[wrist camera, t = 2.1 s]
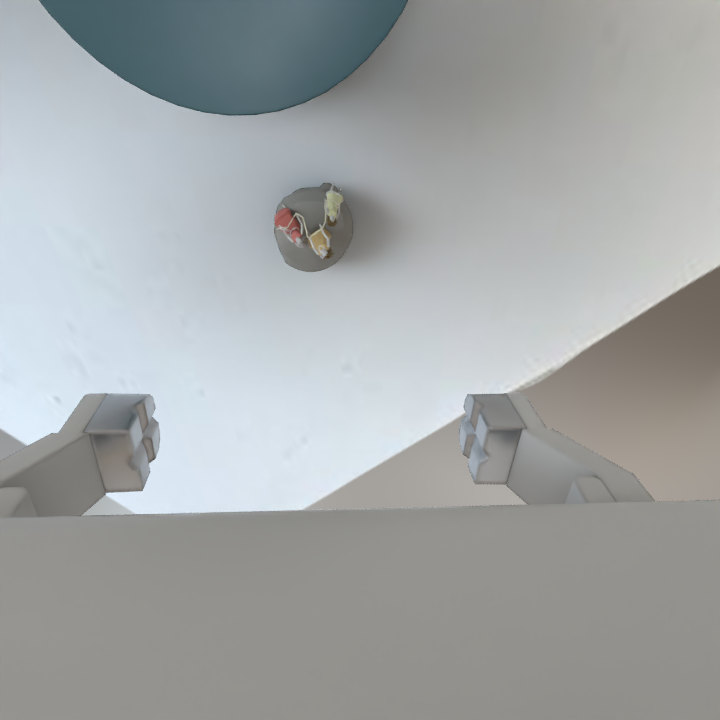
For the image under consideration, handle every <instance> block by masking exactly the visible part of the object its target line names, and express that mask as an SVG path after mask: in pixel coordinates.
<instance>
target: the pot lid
mask: <svg viewBox="0 0 720 720" xmlns="http://www.w3.org/2000/svg"><path fill="white" fill-rule="evenodd" d="M39 1H40V2H41V4H42V5H43V6H44V8H45V9H46V10H47V11H48V13H49V14H50V15H51V16H52V17H53V18H54V19H55V20H56V21H57V22H58V24H59V25H60V26H61V27H62V28H63V29H64V30H65V31H66V32H67V33H68V34H69V35H70V36H71V37H72V39H73V40H75V41H76V42H77V43H78V44H79V45H80V46H81V47H83V48H84V49H85V50H86V51H87V52H88V53H89V54H90V55H92V56H93V57H94V58H95V59H96V60H97V61H98V62H100V63H101V64H103V65H104V66H105V67H107V68H108V69H110V70H111V71H112V72H114V73H115V74H117V75H118V76H120V77H121V78H122V79H124V80H125V81H127V82H129V83H131V84H133V85H134V86H136V87H138V88H140V89H142V90H143V91H145V92H147V93H149V94H151V95H153V96H155V97H158V98H160V99H163V100H165V101H168V102H170V103H173V104H175V105H178V106H182V107H185V108H189V109H193V110H197V111H201V112H205V113H213V114H221V115H258V114H264V113H270V112H276V111H281V110H284V109H287V108H290V107H293V106H296V105H299V104H303V103H305V102H307V101H309V100H311V99H313V98H315V97H317V96H319V95H321V94H323V93H325V92H327V91H328V90H330V89H331V88H333V87H334V86H336V85H337V84H338V83H340V82H341V81H343V80H344V79H346V78H347V77H348V76H350V75H351V74H352V73H353V72H354V71H355V70H356V69H357V68H358V67H359V66H360V65H362V64H363V63H364V62H365V61H366V60H367V59H368V58H369V57H370V56H371V54H372V53H373V52H374V51H375V50H376V48H377V47H378V46H379V45H380V44H381V42H382V41H383V40H384V39H385V38H386V37H387V35H388V33H389V32H390V30H391V29H392V27H393V26H394V24H395V23H396V21H397V20H398V18H399V16H400V15H401V13H402V12H403V10H404V8H405V6H406V4H407V2H408V0H39Z"/></svg>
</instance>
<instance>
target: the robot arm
mask: <svg viewBox="0 0 720 720" xmlns="http://www.w3.org/2000/svg"><path fill="white" fill-rule="evenodd" d="M464 409H465V412H466V414H467V415H466V416H465V417H464V418H463V419H462V420H461V422H460V428H459V442H460V447H461V450H462V452H463V455H465V456H466V457H467V458H469V463H468V468H469V471H470V473H471V476H472V478H473V480H474V483H475V484H507V487H508V488H510V489H511V490H512V491H513V492H514V493H515V494H516V495H517V496H519V497H520V498H521V499H522V500H523V501H524V502H526V503H527V504H528V505H492V506H453V507H413V508H377V509H376V508H373V509H336V510H334V509H333V510H292V511H252V512H212V513H172V514H132V515H94V516H93V515H92V516H81V515H82V514H84V512H86V511H87V510H88V509H89V508H91V507H92V506H93V505H94V504H95V503H96V502H97V501H99V500H100V499H101V498H102V497H103V496H105V495H106V493H109V492H130V491H143V488H144V486H145V483H146V481H147V478H148V476H149V473H150V468H149V463H150V462H152V461H153V460H154V459H155V458H156V456H157V453H158V450H159V443H160V430H159V424H158V422H157V421H156V420H155V419H154V418H153V417H152V415H153V413H154V411H155V404H154V399H153V397H152V396H151V395H150V394H107V393H99V394H87V395H85V396H84V397H83V398H82V399H81V401H80V402H79V404H78V405H77V407H76V408H75V410H74V411H73V412H72V414H71V415H70V417H69V418H68V420H67V421H66V422H65V424H64V425H63V427H62V428H61V430H60V431H59V432H58V433H51V434H49V435H47V436H45V437H44V438H42V439H40V440H38V441H36V442H34V443H32V444H30V445H28V446H26V447H25V448H23V449H21V450H19V451H17V452H15V453H13V454H12V455H9V456H8V457H6V458H4V459H2V460H0V720H720V500H696V501H655V500H654V499H653V498H652V496H651V495H650V494H649V493H648V491H647V490H646V489H645V488H644V486H643V485H642V484H641V483H640V481H639V480H638V479H637V477H636V476H635V475H634V474H633V473H631V472H629V471H627V470H626V469H624V468H622V467H620V466H618V465H616V464H615V463H613V462H611V461H610V460H608V459H606V458H604V457H602V456H601V455H598V454H597V453H595V452H594V451H592V450H590V449H588V448H586V447H585V446H583V445H581V444H579V443H577V442H575V441H574V440H572V439H570V438H568V437H567V436H565V435H563V434H561V433H559V432H558V431H556V430H554V429H547V427H546V426H545V424H544V423H543V421H542V420H541V418H540V417H539V415H538V413H537V412H536V411H535V409H534V408H533V406H532V405H531V403H530V401H529V400H528V399H527V397H526V395H525V394H523V393H504V394H467V396H466V399H465V402H464Z"/></svg>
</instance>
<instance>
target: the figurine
mask: <svg viewBox="0 0 720 720" xmlns="http://www.w3.org/2000/svg"><path fill="white" fill-rule="evenodd" d="M341 189H342V188H340V190H339V191H338V189H337V188H336V187H335V186H334V184H330V183H323V185H322V186H321V187H314V188H301V189H298V190H296V191H295V192H293V193H292V194H291V195H289V196H287V197H285V198H284V199H283V200H282V201H281V202H280V204H279V205H278V207H277V211H276V215H274V216H275V229H274V233H275V237H276V241H277V244H278V247H279V249H280V252H281V254H282V255H283V258H284V260H285V262H286V263H287V264H288V265H290V266H291V267H293V268H295V269H298V270H301V271H306V272H316V271H321V270H324V269H326V268H328V267H330V266H332V265H333V264H335V263H336V262H337V261H338V260H339V259H340V258H341V257H342V256H343V255H344V253H345V252H346V250H347V248H348V246H349V244H350V242H351V239H352V234H353V222H352V216H351V213H350V210H349V208H348V207H347V205H346V204H345V202H344V198H343V196H342V195H341Z"/></svg>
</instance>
